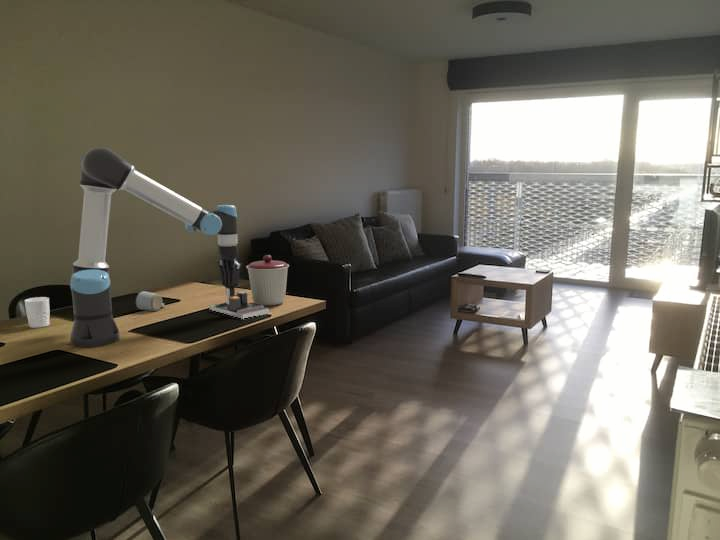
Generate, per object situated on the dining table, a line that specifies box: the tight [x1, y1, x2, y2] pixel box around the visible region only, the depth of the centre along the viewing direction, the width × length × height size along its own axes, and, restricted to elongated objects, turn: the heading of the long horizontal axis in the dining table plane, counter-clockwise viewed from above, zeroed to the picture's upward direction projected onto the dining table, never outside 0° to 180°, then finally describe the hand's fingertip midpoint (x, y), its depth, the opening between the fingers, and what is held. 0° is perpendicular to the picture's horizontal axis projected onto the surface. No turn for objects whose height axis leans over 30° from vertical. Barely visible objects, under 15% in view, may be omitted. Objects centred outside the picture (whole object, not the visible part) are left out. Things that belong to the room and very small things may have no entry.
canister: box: [245, 254, 290, 307], centre depth 243 cm, size 18×18×21 cm
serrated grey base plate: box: [209, 290, 270, 320], centre depth 229 cm, size 13×22×7 cm, turn 48°
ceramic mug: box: [135, 290, 165, 312], centre depth 235 cm, size 11×8×8 cm
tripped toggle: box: [229, 296, 241, 311], centre depth 223 cm, size 3×4×5 cm, turn 48°
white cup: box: [24, 296, 51, 329], centre depth 211 cm, size 8×8×10 cm
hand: (230, 303), depth 225 cm, fingers closed
